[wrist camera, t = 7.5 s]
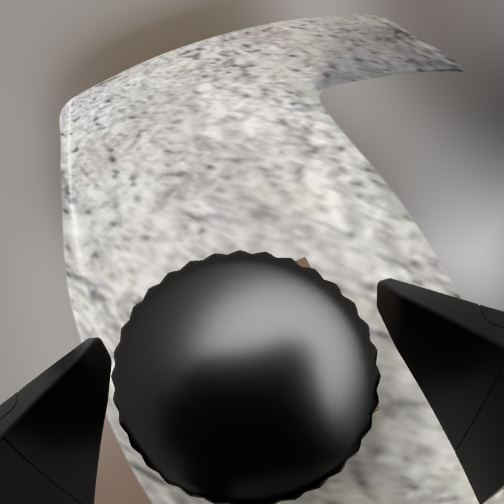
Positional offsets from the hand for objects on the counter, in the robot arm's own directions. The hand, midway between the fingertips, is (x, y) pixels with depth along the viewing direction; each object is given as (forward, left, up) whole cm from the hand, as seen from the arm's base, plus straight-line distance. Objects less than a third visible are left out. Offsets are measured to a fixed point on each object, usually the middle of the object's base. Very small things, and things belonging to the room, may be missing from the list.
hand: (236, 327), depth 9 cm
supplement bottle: (-1, 0, -8) cm, 8 cm away
